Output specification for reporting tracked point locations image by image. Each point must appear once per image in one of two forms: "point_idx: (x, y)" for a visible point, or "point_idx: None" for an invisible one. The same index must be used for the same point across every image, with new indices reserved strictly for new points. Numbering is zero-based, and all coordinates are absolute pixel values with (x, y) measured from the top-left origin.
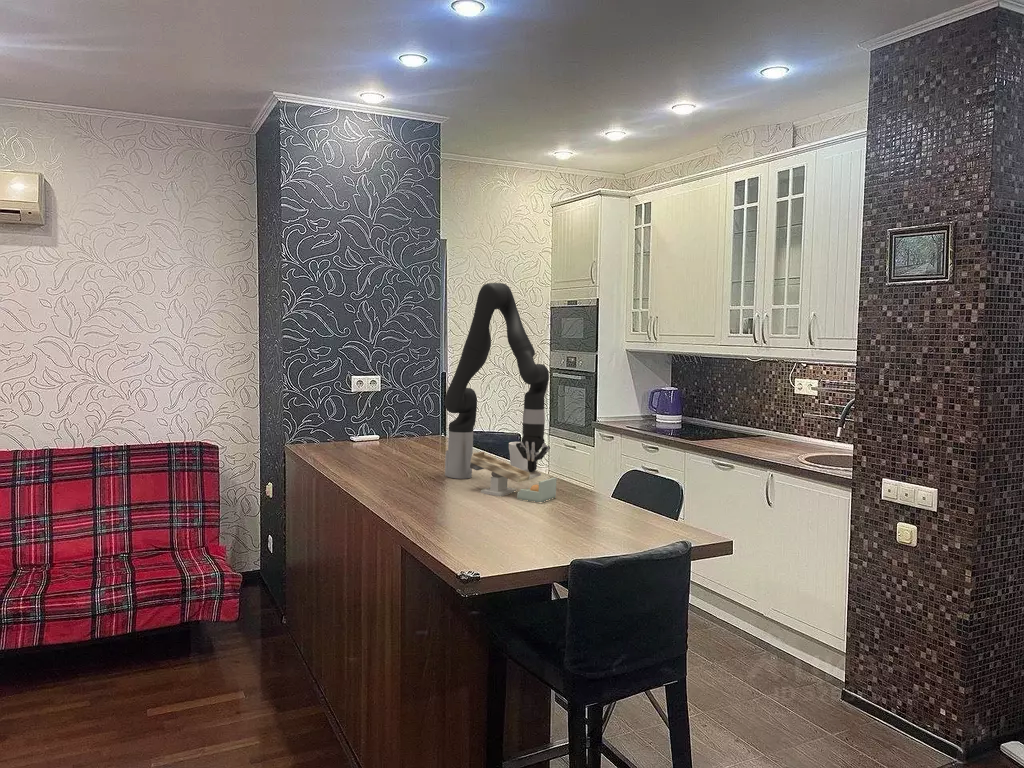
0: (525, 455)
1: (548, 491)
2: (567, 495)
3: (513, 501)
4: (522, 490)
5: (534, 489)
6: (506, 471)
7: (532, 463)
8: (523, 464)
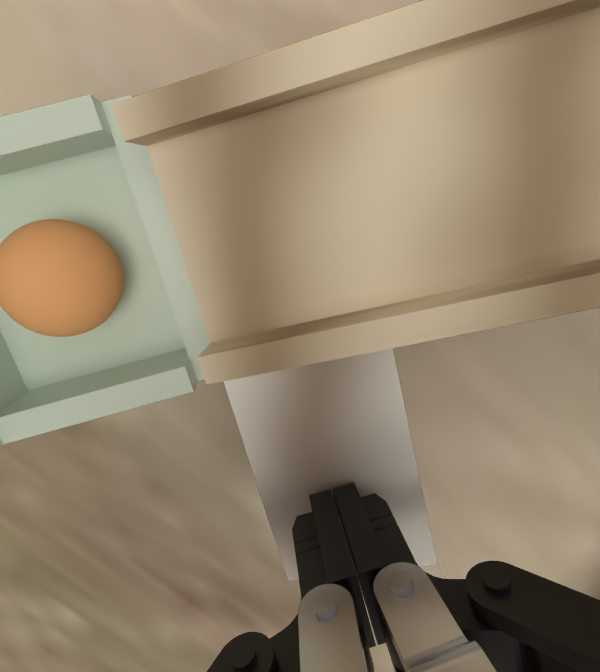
0: (490, 615)
1: None
2: (70, 545)
3: (103, 21)
4: (62, 102)
5: (17, 230)
6: (339, 32)
7: (325, 564)
8: None
